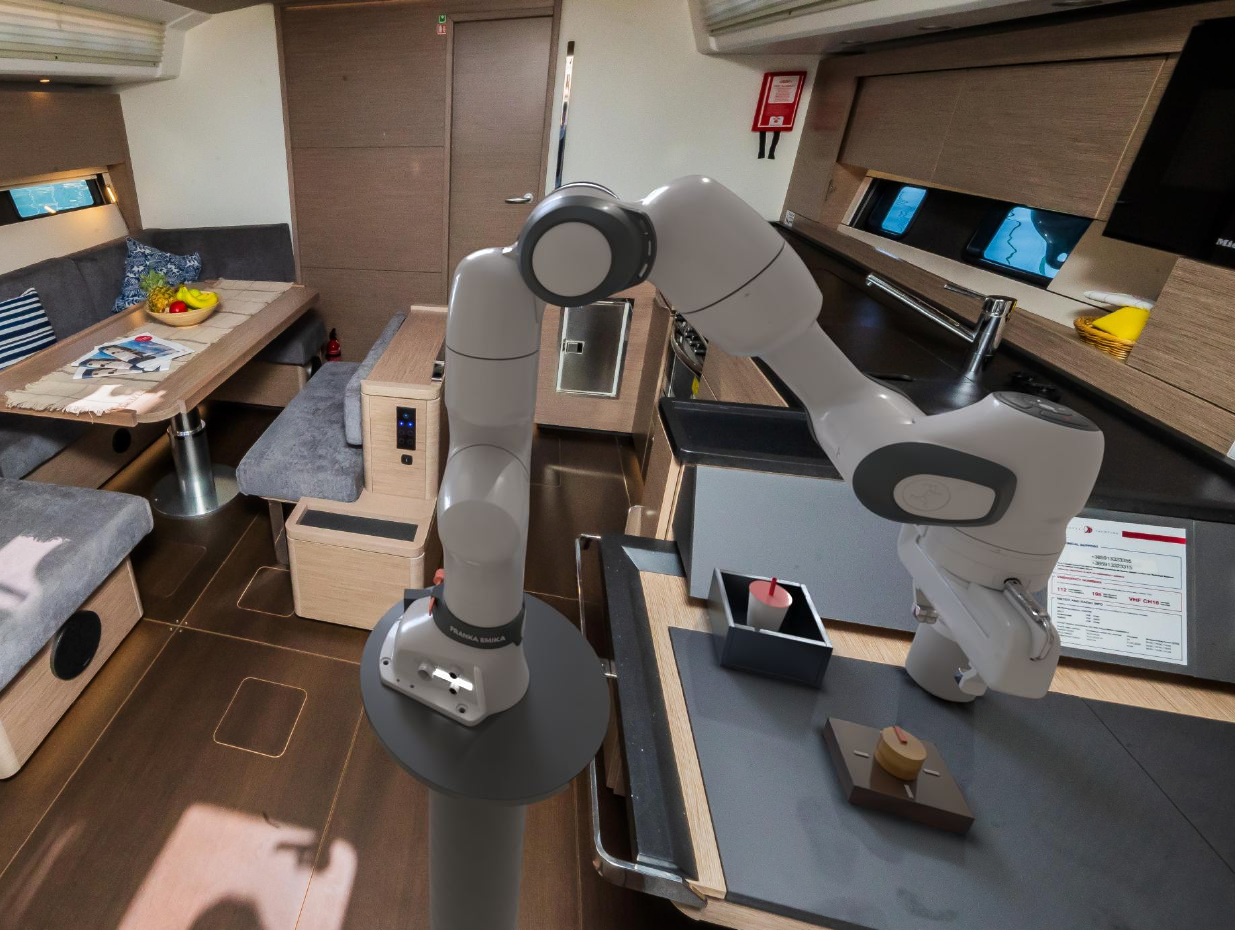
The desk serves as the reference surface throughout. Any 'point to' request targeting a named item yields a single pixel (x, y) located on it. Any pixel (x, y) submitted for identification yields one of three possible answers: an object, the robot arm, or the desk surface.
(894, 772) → the tap knob
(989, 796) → the desk surface
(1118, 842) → the desk surface
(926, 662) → the can
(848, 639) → the desk surface
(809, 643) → the dark open box
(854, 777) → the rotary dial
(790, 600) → the cup
